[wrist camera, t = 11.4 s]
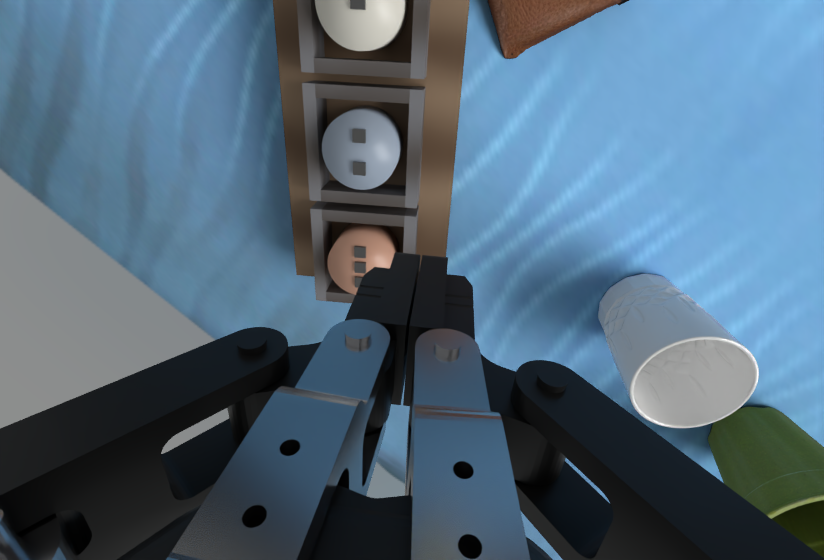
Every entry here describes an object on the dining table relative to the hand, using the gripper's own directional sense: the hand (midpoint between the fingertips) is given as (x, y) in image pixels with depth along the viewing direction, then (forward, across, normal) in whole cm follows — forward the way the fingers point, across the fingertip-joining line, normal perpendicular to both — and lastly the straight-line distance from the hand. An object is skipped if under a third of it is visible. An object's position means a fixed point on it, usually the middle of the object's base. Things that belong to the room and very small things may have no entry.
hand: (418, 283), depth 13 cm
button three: (+19, +5, +8) cm, 22 cm away
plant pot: (+23, -32, +26) cm, 47 cm away
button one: (+20, +5, -8) cm, 22 cm away
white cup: (+23, -18, +13) cm, 32 cm away
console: (+23, +5, 0) cm, 23 cm away
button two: (+19, +5, 0) cm, 20 cm away
